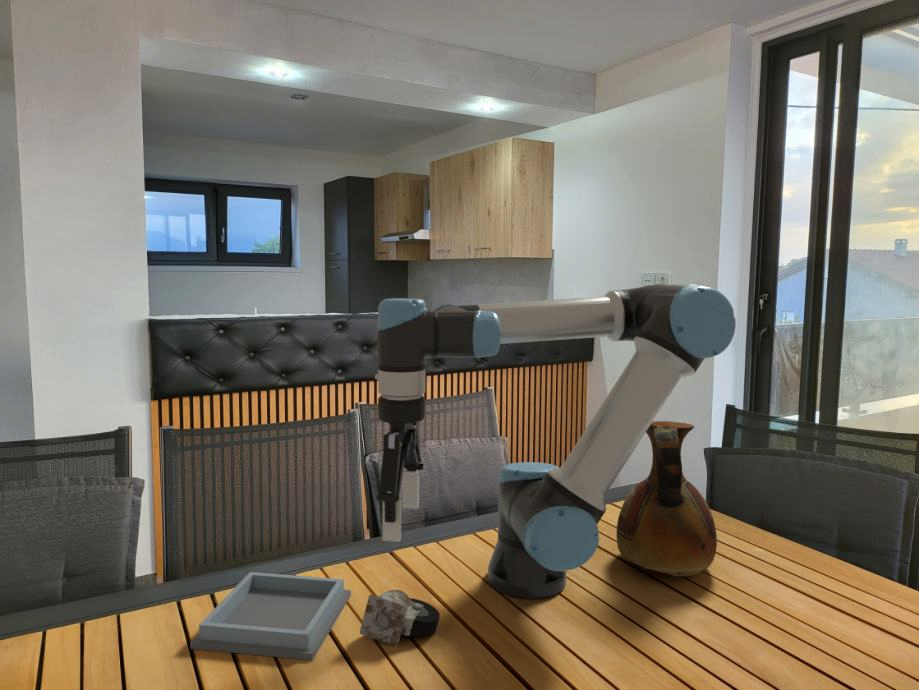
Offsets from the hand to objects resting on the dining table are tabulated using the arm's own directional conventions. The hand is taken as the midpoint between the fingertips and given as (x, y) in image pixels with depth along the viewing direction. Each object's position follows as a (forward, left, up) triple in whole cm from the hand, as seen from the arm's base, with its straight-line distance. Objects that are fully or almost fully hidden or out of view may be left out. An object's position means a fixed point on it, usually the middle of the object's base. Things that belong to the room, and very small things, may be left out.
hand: (401, 523), depth 105 cm
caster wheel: (0, 0, -19) cm, 19 cm away
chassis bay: (+22, 0, -19) cm, 29 cm away
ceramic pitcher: (-48, -32, -19) cm, 61 cm away
